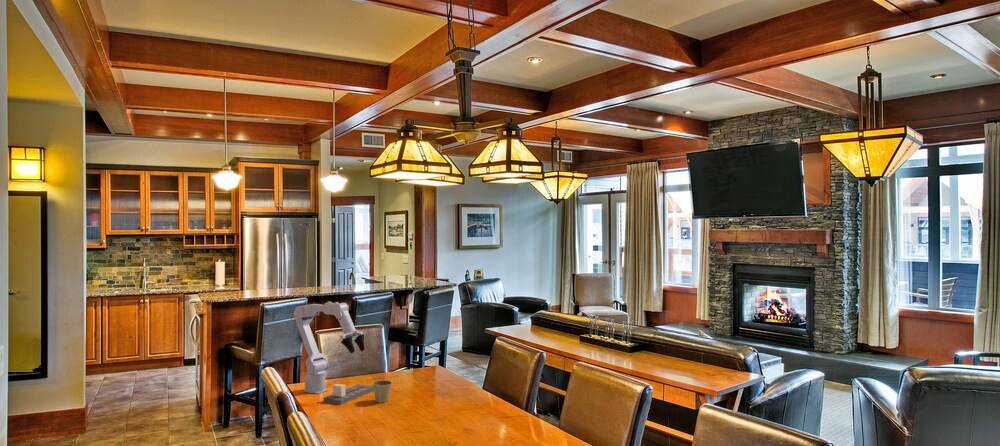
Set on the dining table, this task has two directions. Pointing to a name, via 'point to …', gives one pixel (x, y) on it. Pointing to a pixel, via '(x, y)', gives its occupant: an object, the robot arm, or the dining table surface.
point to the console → (349, 394)
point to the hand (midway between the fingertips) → (358, 351)
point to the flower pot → (382, 390)
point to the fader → (339, 390)
